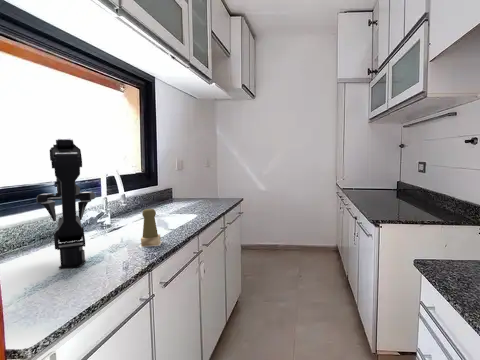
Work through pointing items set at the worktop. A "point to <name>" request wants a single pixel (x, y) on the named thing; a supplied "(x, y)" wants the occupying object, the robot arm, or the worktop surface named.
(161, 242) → the pale blue tile
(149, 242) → the oak block
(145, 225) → the cork
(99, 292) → the worktop surface
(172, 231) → the worktop surface
